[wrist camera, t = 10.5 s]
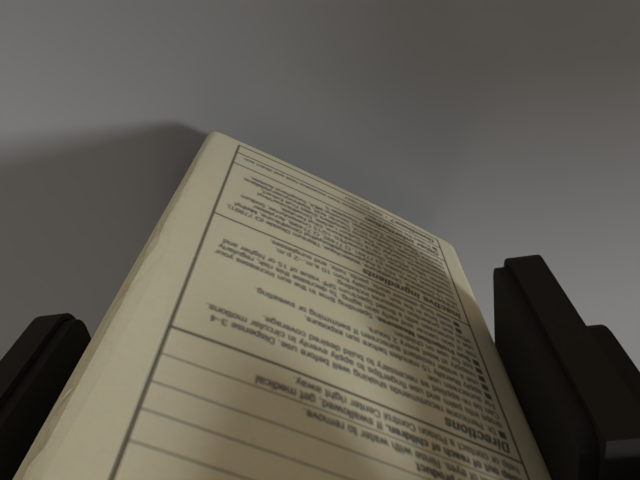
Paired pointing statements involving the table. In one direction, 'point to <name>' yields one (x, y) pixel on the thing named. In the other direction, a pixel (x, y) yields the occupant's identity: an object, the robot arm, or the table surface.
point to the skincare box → (286, 347)
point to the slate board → (324, 132)
